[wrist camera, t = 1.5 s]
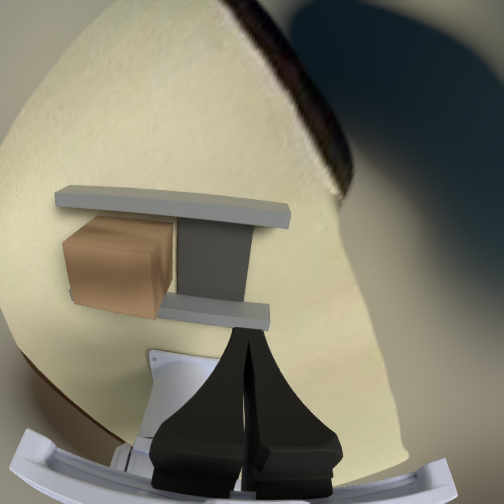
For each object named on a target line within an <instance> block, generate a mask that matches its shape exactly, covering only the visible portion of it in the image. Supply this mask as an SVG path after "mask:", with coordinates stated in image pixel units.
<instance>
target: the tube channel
mask: <svg viewBox="0 0 504 504" xmlns="http://www.w3.org/2000/svg"><path fill="white" fill-rule="evenodd" d="M55 205H56V206H58V207H73V208H86V209H99V210H111V211H123V212H134V213H145V214H156V215H166V216H177V217H179V232H178V294H177V293H170V292H167V293H166V295H165V297H164V299H163V302H162V304H161V306H160V308H159V311H158V313H157V315H156V317H159V318H165V319H171V320H178V321H185V322H192V323H200V324H207V325H215V326H224V327H233V328H234V327H242V328H252V329H262V330H263V331H268V329H269V324H270V309H269V304H261V303H251V302H243V301H244V294H245V286H246V279H247V272H248V264H249V257H250V249H251V242H252V235H253V227H254V225H258V226H266V227H274V228H282V229H288V228H289V223H290V217H291V212H290V209H289V207H288V204H284V203H276V202H269V201H261V200H253V199H244V198H236V197H227V196H217V195H208V194H197V193H187V192H175V191H163V190H150V189H135V188H119V187H99V186H74V185H69V186H67V187H65V188H63V189H61V190H59V191H57V192H55ZM69 291H70V296H71V300H72V301H74V300H73V295H72V291H71V289H70V290H69Z"/></svg>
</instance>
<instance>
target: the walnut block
mask: <svg viewBox="0 0 504 504" xmlns="http://www.w3.org/2000/svg"><path fill="white" fill-rule="evenodd" d="M62 244H63V250H64V256H65V262H66V267H67V272H68V277H69V282H70V287H71V291H72V295H73V300H74V304H78V305H83V306H87V307H92V308H96V309H101V310H106V311H111V312H116V313H121V314H126V315H132V316H137V317H143V318H149V319H155V318H156V315H157V313H158V311H159V308H160V306H161V304H162V302H163V299H164V297H165V295H166V293H167V290H168V288H169V286H170V284H171V281H172V279H173V262H172V253H173V223H169V222H159V221H149V220H139V219H129V218H118V217H107V216H97V217H95V218H94V219H92V220H91V221H90V222H88V223H87V224H86V225H85V226H83V227H82V228H81V229H79V230H78V231H77V232H75V233H74V234H73V235H72V236H70V237H69V238H68V239H67V240H65V241H64V242H63V243H62Z"/></svg>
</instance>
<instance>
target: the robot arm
mask: <svg viewBox="0 0 504 504" xmlns="http://www.w3.org/2000/svg"><path fill="white" fill-rule="evenodd" d="M148 355H149V361H150V367H151V372H152V378H153V386H152V389H151V392H150V395H149V399H148V402H147V405H146V409H145V412H144V415H143V419H142V422H141V426H140V429H139V433H138V436H136V439H135V442H134V446H133V449H131V445H130V444H127V443H124V444H123V445H121V446H119V447H117V448H116V450H115V453H114V456H113V459H112V462H111V465H110V467H107V466H104V465H101V464H98V463H95V462H92V461H90V460H87V459H84V458H82V457H79V456H76V455H74V454H71V453H69V452H67V451H64V450H62V449H60V448H57V447H56V445H55V444H54V443H53V442H52V441H51V440H50V439H48V438H47V437H45V436H43V435H41V434H39V433H37V432H35V431H33V430H31V429H29V428H27V429H26V431H25V433H24V435H23V437H22V439H21V441H20V444H19V446H18V448H17V450H16V453H15V455H14V457H13V459H12V462H11V464H10V467H9V469H10V470H11V471H12V472H13V473H15V474H16V475H17V476H19V477H20V478H21V479H23V480H24V481H25V482H27V483H28V484H29V485H31V486H32V487H34V488H35V489H37V490H39V491H41V492H42V493H44V494H46V495H48V496H50V497H52V498H54V499H56V500H58V501H60V502H62V503H64V504H445V503H447V502H449V501H451V500H452V499H454V498H456V497H457V491H456V488H455V485H454V482H453V479H452V476H451V473H450V470H449V467H448V465H447V462H446V459H445V458H441V459H439V460H435V461H432V462H429V463H427V464H425V465H423V466H421V467H420V468H419V469H418V470H417V471H415V472H412V473H408V474H405V475H401V476H397V477H393V478H388V479H384V480H380V481H375V482H370V483H364V484H359V485H353V486H346V487H339V488H332V481H331V479H332V478H333V470H332V469H333V468H334V467H335V466H336V465H337V464H338V463H339V462H340V461H341V459H342V458H343V452H342V447H341V444H340V442H339V439H338V437H337V434H336V433H334V432H333V431H332V430H331V429H329V428H328V427H327V426H325V425H324V424H323V423H322V422H321V421H320V420H319V419H318V418H317V417H316V416H315V415H313V413H312V412H311V411H310V410H309V409H308V408H307V407H306V406H305V405H304V404H303V403H302V401H301V400H300V399H299V398H298V397H297V395H296V394H295V393H294V391H293V390H292V389H291V387H290V386H289V384H288V383H287V381H286V380H285V378H284V376H283V375H282V373H281V371H280V369H279V368H278V366H277V364H276V362H275V360H274V358H273V356H272V353H271V351H270V349H269V346H268V344H267V341H266V338H265V335H264V331H263V330H262V329H252V328H242V327H234V328H233V329H232V334H231V337H230V340H229V342H228V345H227V347H226V349H225V351H224V353H223V355H222V357H221V359H214V358H206V357H198V356H191V355H185V354H178V353H172V352H166V351H160V350H154V349H152V350H150V351H149V354H148ZM243 396H244V413H245V428H244V420H243ZM241 468H242V479H241V481H240V479H239V474H240V471H241Z"/></svg>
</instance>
